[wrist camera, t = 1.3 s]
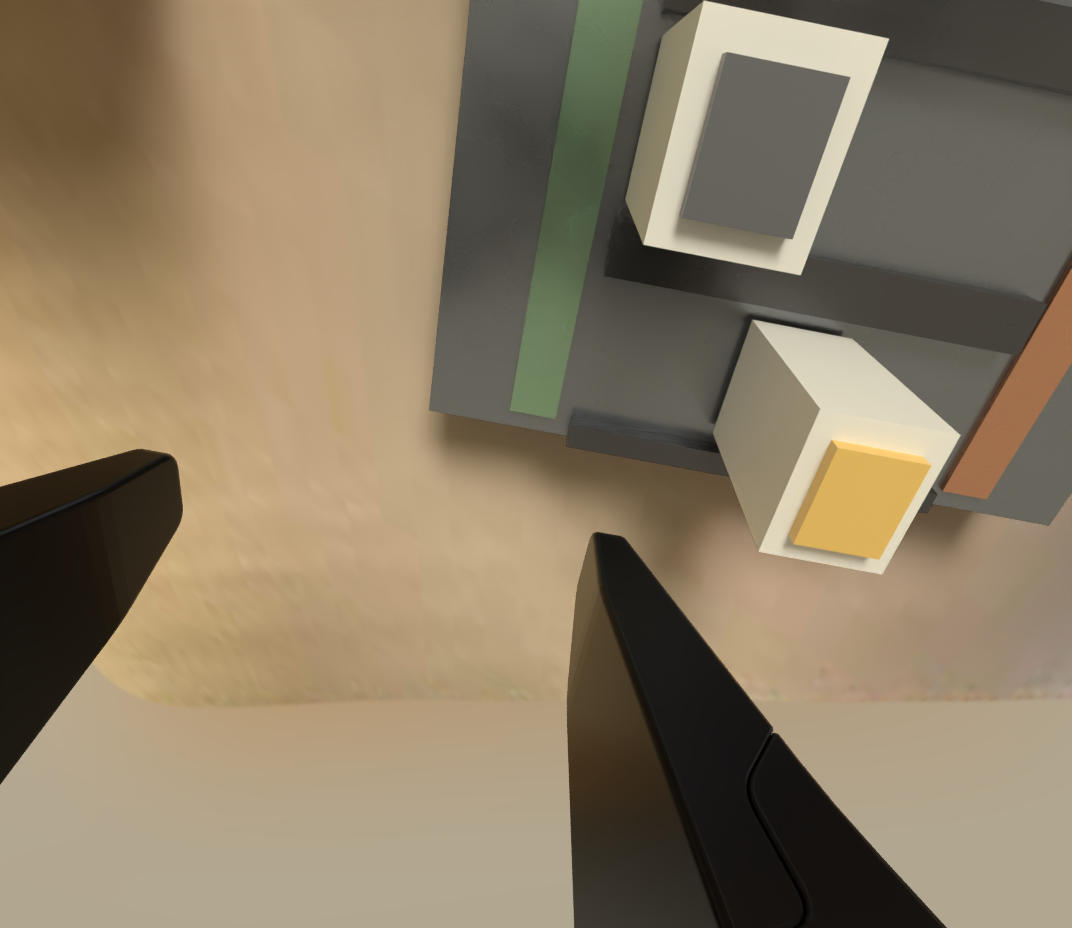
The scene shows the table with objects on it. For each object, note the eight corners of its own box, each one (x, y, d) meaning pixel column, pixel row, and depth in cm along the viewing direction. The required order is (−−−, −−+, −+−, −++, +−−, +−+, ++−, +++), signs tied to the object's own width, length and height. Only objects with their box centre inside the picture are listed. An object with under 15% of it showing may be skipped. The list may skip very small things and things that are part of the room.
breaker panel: (1410, -186, 12) (1642, -266, 10) (997, 478, 20) (1062, 538, 17) (531, -380, 12) (514, -521, 9) (446, 375, 19) (424, 420, 17)
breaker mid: (783, 60, 13) (898, 36, 8) (733, 221, 14) (806, 280, 9) (662, 35, 12) (708, -3, 8) (625, 199, 14) (644, 248, 9)
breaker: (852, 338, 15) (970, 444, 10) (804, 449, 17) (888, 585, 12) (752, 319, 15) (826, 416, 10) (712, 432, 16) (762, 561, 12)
